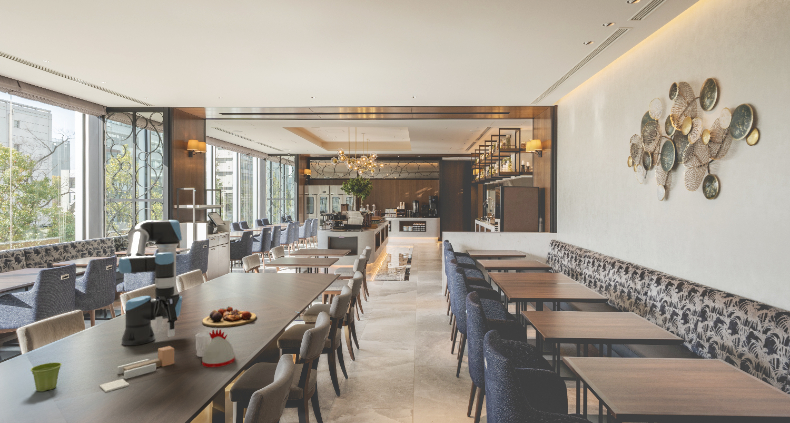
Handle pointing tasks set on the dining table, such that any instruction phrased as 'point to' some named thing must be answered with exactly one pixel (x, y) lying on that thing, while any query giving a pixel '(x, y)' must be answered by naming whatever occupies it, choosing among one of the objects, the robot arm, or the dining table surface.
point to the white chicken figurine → (218, 351)
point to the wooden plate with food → (228, 318)
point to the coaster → (114, 385)
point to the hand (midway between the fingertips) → (165, 333)
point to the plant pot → (46, 376)
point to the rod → (144, 364)
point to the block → (166, 355)
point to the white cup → (202, 342)
